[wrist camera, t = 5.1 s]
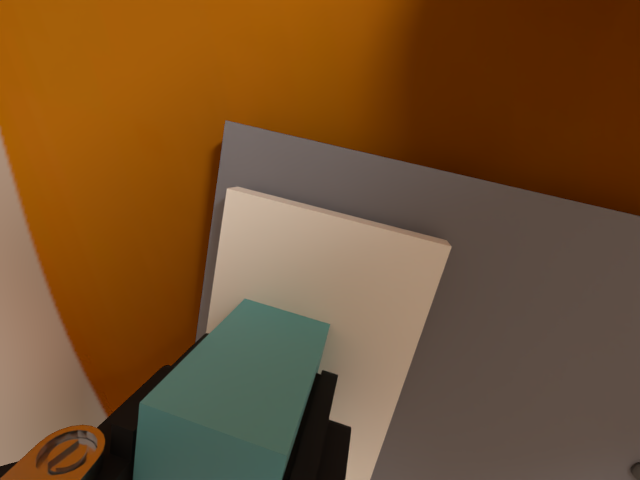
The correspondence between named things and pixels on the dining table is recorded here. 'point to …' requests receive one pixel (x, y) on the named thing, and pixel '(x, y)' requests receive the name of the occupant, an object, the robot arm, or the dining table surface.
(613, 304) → the board
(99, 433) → the robot arm
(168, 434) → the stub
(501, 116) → the dining table surface
